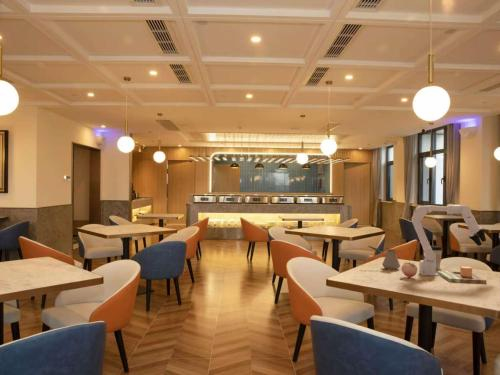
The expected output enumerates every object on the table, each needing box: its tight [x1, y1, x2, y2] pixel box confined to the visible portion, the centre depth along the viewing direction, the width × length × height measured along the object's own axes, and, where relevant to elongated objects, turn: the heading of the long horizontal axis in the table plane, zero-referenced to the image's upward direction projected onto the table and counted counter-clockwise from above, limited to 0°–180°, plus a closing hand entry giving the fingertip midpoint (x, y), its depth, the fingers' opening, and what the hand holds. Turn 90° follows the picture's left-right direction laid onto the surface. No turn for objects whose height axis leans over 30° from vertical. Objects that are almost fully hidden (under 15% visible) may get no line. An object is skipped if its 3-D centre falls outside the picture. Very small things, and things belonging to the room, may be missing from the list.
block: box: [459, 266, 473, 277], centre depth 244 cm, size 5×5×5 cm
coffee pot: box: [367, 245, 401, 271], centre depth 273 cm, size 21×12×15 cm, turn 70°
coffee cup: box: [430, 245, 443, 270], centre depth 277 cm, size 9×9×15 cm
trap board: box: [437, 270, 487, 285], centre depth 244 cm, size 20×23×2 cm
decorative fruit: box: [400, 261, 418, 278], centre depth 244 cm, size 9×8×10 cm
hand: (482, 243), depth 246 cm, fingers open, 7 cm apart
